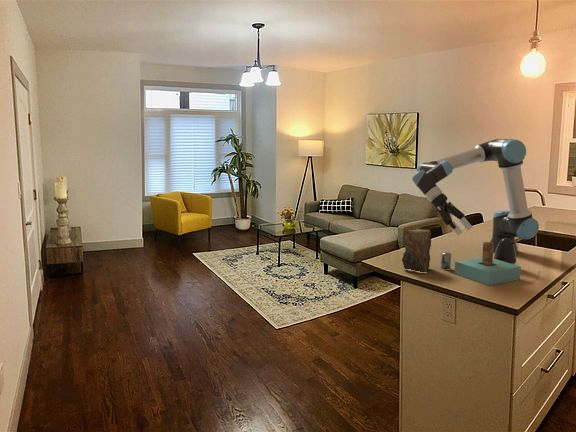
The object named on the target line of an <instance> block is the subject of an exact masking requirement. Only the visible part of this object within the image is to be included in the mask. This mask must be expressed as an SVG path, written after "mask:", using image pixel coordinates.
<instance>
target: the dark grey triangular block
mask: <svg viewBox="0 0 576 432" xmlns="http://www.w3.org/2000/svg"><path fill="white" fill-rule="evenodd" d="M514 244H515V242H512V241H511V240H510V239H509V238H503V239H502V240H501V241H500V242H499V244H498V246H497V248H496V251H495V252H494V253H493V259H496V260H500V261H503V262H507V263H511V264H514V265H516V263H517V253H516V252H515V248H514Z"/></svg>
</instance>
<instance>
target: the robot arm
mask: <svg viewBox="0 0 576 432" xmlns="http://www.w3.org/2000/svg"><path fill="white" fill-rule="evenodd" d="M526 155H527V148H526V145H525V144H524V142H522V141H521V140H519V139H514V138H496V139H492V140H489V141H486V142H482V143H479V144H477V145H475V146H474V147H473V148H470V149H467V150H464V151H461V152H458V153H455V154H451V155H447V156H444V157H441V158H438V159H434V160H432V161H429V162H428V161H427V162H421V163H419V164H418V166H417V167H416V173H415V174H414V175H413V176H412V178H411V179H412V182H413V183H414V185H415V186H416V187H417V188H418V189H419V191H420V192H421V193H422V194H423V196H425V197H426V198H425V199H426V200H428V201H429V202H430V203H431V205H432V206H433V208H435V209H436V210H437V211H438V212H437V213H439V215H440V216H441V219H442V221H443V222H444V225H446V226H449V227H450V228H451V229H452V230H453V232H454V233H455V234H456V235H457V236H460V235H461V234H462V233H463V232H464V231H463V230H462V229H461V228H460V227H459V225H458V224H457V223H456V221H455V220H453V219H452V216H453V217H455V218H456V219H458V220H459V223H461V224H462V226H464V228H465V230H467V231H470V230H471V229H472V228H473V226H472V224H471V223H470V222H469V221H468V220H467V219H466V214H464V213H463V212H462V211H461V210H459V208H458V207H456V206H455V205H453V203H452V202H451V201H449V202H447V201H448V196H446V194H445V193H444V192H443V190H441V188H440V187H439V186H438V185H437V184H438V183H439V182H441V181H442V180H444V179H445V178H447V177H449V176H450V175H451V174H452V173H453V170H455V169H459V168H463V167H465V166H468V165H471V164H475V163H484V162H497V166H498V169H500V170H501V171H502V174H503V175H502V176H503V179H504V180H503V181H504V186H505V187H504V188H505V192H506V197H507V203H508V209H509V210H499V211H494V213H493V217H492V236H491V239H490V241H489V242H492V243H494V248H493V253H495V251H496V248H497V246H498V244H499V242H500V241H501V240H502V239H503V238H509V239H510V240H511V241H512V242H515V244H514V248H515V252H516V254H517V253H518V246H517V242H516V238H519V240H520V239H521V240H531V239H532V238H534V237H535V236H536V234H538V231H539V228H540V224H539V221H538V220H536V219H535V218H534V217H533V213H532V211H531V210H529V208H528V203H527V197H526V191H525V185H524V180H523V174H522V167H521V166H522V165H524V160H525V158H526ZM451 215H452V216H451Z"/></svg>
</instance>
